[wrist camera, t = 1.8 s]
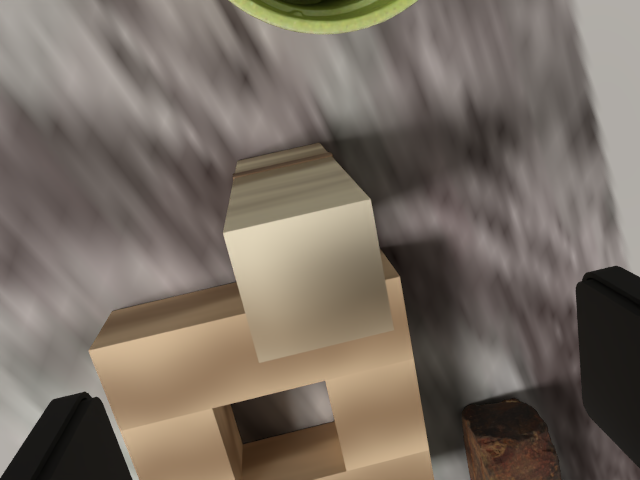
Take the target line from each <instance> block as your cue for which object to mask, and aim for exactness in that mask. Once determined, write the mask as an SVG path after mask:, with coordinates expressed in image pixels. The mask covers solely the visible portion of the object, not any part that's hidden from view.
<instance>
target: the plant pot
mask: <svg viewBox="0 0 640 480" xmlns="http://www.w3.org/2000/svg"><path fill="white" fill-rule="evenodd" d="M229 1H230V2H232V3H233V4H234V5H236V6H237V7H239V8H240V9H241V10H243V11H245V12H246V13H248V14H250V15H251V16H253V17H255V18H257V19H259V20H261V21H264V22H266V23H269V24H271V25H274V26H277V27H280V28H283V29H286V30H290V31H295V32H301V33H309V34H338V33H346V32H352V31H356V30H360V29H364V28H368V27H370V26H373V25H376V24H379V23H381V22H384V21H386V20H388V19H390V18H392V17H394V16H395V15H397V14H399V13H401V12H402V11H404V10H405V9H407V8H408V7H410V6H411V5H413V4H414V3H415V2H417V1H418V0H229Z"/></svg>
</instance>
